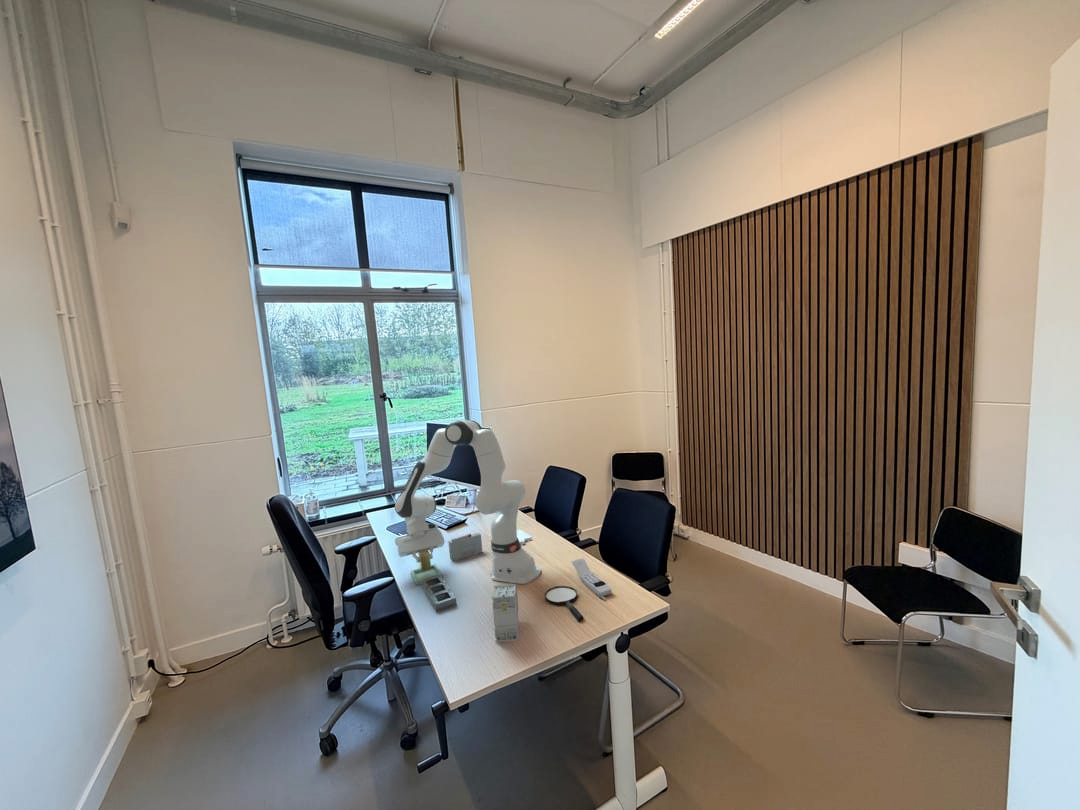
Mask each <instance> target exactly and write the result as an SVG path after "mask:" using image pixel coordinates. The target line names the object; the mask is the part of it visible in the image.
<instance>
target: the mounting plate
mask: <svg viewBox="0 0 1080 810" xmlns="http://www.w3.org/2000/svg"><path fill="white" fill-rule="evenodd" d="M517 538H518V540H519V542H522V541H523V542H522V543H523V544H524V545H525V544H526V542H529V541H528V540H530V541H532V540H533V539H532V538H533V537H532V536H531V535H529V534H528V533H526V532H525V531H523V530H522V529H517ZM525 541H526V542H525ZM523 544H521V546H523Z"/></svg>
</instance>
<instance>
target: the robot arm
mask: <svg viewBox="0 0 1080 810" xmlns="http://www.w3.org/2000/svg"><path fill="white" fill-rule="evenodd" d="M457 446H471V447H472V448H473V451H474V453H475V457H476V460H477V461H476V462H477V465H478V468H479V472H480V487H479V491H478V493H477V495H476V497H475V505H476V508H477V510H478V511H479V513H481V514H483V515H484V516H485V515H493V514H495V516H494V517H493V519H492V520H491V523H490V532H491V541H490V544H491V545H490V547H491V551H492V556H491V557H492V560H491V569H490V575H491V580H492V581H496V582H504V583H509V584H520V585H525V584H528V583H531V582H532V581H534V580H535V579H536V578H538V577H539V576H540V574H541V573H542V569H541V567H539V566H536V562H535V559H534V557H533V556H531V554H530V553H528V552H527V551H526V550H525V549H523V547H522V545H521V544H523V543H522V542H523V541H522V542H519V540H518V538H517V530H518V529H517V519H518V514H519V510H520V506H521V503H522V501H523V500H524V498H525V496H526V486H525V485H524V484H523V483H522V481H520V480H518V479H511V480H507V481H503V482H502V477H503V473H504V472H505V470H506V463H505V460H504V457H503V453H502V450H501V447H500V444H499V441H498V439H497V437H496V434H495V433H494V432H493V430H492V429H489V428H482V426H481V424H480V423H478V422H477V421H475V420H470V419H469V420H467V419H459V420H454V421H452V422H450V423H449V424H448V425H447V426H446V427H444V428H439V429H437V430H436V432H434V435H433V436H432V439H431V442H430V444H429V446H428V449H427V452H426V453H425V455H424V456H423V458H422V459H421V460H420V461H418V462H417V463H416V464H415V466H414V467H413V469H412V471H411V473H410V475H409V476H408V480H407V481H406V483H405V486H404V487H403V489H402V491H401V493H400V494H399V496H398V497H397V499H396V500H395V503H394V510H395V512H396V515H398V516H399V517H401V518H402V519H404V522H405V523H406V531H407V532H406V534H403V535H398V536H397V537H396V538H395V540H394V541H395V545H396V546H397V554H398V556H399V557H400V558H403V557H407V556H412V558H414V559H415V561H416V563H417V564H419V562H420V557H419V556H417V554H418V552H419V551H423V550H428V551H429V552H430V560H432V559H434V558H433V552H434V549H438V548H441V547H444V545H445V541H446V540H445V539H444V536H443V535H444V534H443V533H442V531H441V529H439V525H438V523H428V522H427V521H426V519H428V518H430V517H431V516H432V515H433V514H434V513H435V512H436V510H437V501H436V499H435V497H434V496H433V495H430V494H416V493H417V490H418V488H419V486H420V484H421V483H422V481H423V480H424V479H425V478H426V477H429V476H431V475H433V474H437V473H441V472H442V471H444V470H446V469H447V468H448V466H449V465H450V463H451V462H452V461H451V460H452V458H453V455H454V452H455V448H456V447H457Z"/></svg>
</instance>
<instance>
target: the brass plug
mask: <svg viewBox="0 0 1080 810" xmlns="http://www.w3.org/2000/svg"><path fill="white" fill-rule="evenodd" d="M417 554H418V557H420V562H418V564H419V565H418V566H419V568H420V570H421V572H422V573H423V572H426V571H430V570H431V565H432V564H431V559H430V554H431V552H430V550H423V551H419V552H418V553H417Z"/></svg>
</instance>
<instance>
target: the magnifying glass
mask: <svg viewBox="0 0 1080 810" xmlns="http://www.w3.org/2000/svg"><path fill="white" fill-rule="evenodd" d="M577 599H578V591H577V590H576V589H575V588H573V587H572V586H566V585H557V586H553V587H550V588H549V589H547V590H546V592H545V593H544V601H545V602H547V604H549V605H553V606H557V607H567V608H568V610H569V611H570V613H571V614H572V615H573V617H575V619H576V620H577V621H578V622H579V623H580V622H581V623H582V622H583V621H584V620H585V618H584V616H583V614H581V613H580V611H579V610H578V609H577V607H575V606H574V605H573V603H576V601H577Z"/></svg>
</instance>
